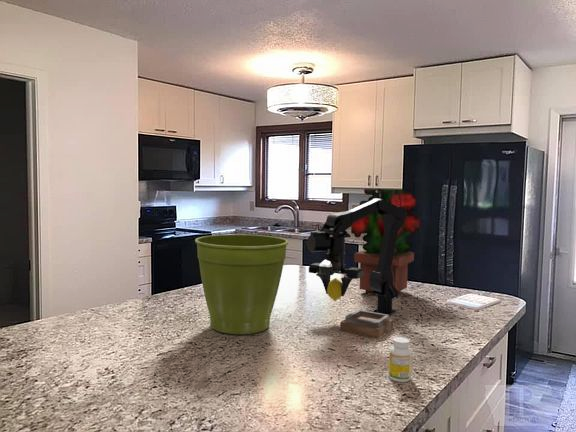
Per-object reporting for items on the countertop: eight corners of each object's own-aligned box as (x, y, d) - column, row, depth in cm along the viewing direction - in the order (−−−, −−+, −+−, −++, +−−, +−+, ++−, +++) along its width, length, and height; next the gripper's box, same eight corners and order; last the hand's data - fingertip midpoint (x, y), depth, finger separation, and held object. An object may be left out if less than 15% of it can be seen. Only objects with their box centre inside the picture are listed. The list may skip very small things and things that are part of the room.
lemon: (342, 303, 164) (342, 280, 164) (326, 302, 166) (326, 279, 165) (343, 299, 170) (344, 277, 169) (327, 298, 171) (328, 276, 170)
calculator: (500, 303, 198) (500, 298, 198) (476, 311, 184) (477, 306, 184) (469, 297, 208) (469, 292, 208) (445, 304, 194) (445, 299, 194)
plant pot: (176, 334, 149) (176, 241, 146) (221, 310, 176) (222, 232, 174) (265, 347, 138) (266, 248, 136) (298, 320, 166) (300, 237, 164)
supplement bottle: (404, 384, 115) (406, 345, 114) (384, 378, 118) (386, 340, 118) (414, 377, 119) (416, 339, 118) (395, 371, 122) (396, 334, 122)
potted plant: (416, 291, 213) (420, 189, 210) (399, 301, 195) (403, 190, 192) (369, 285, 225) (372, 188, 222) (349, 293, 207) (352, 188, 203)
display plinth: (356, 321, 166) (357, 308, 166) (393, 328, 159) (393, 314, 159) (340, 331, 155) (340, 317, 155) (378, 338, 148) (378, 324, 148)
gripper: (301, 250, 165) (300, 295, 166) (351, 256, 155) (349, 304, 156) (316, 247, 174) (315, 289, 175) (365, 252, 164) (363, 297, 165)
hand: (335, 295), depth 168 cm, fingers closed on lemon, 5 cm apart
